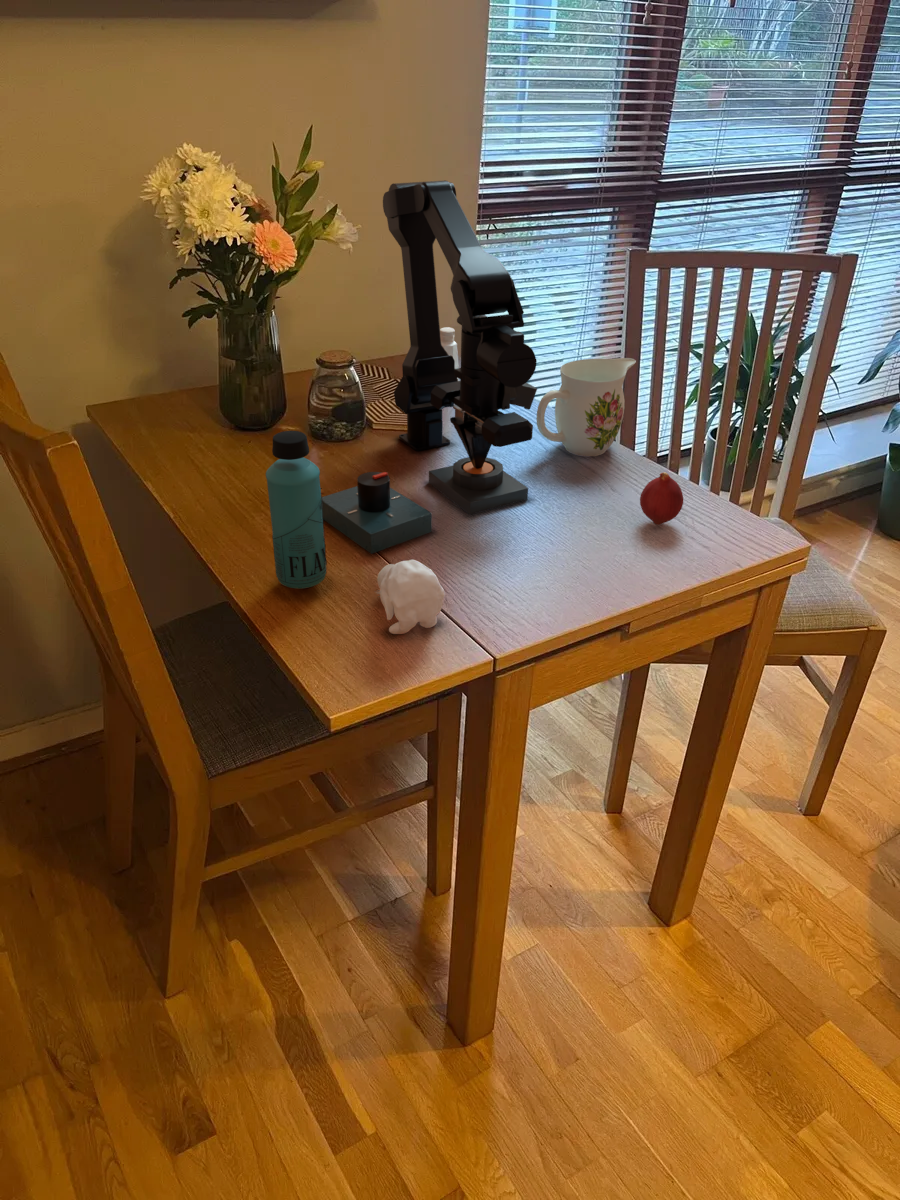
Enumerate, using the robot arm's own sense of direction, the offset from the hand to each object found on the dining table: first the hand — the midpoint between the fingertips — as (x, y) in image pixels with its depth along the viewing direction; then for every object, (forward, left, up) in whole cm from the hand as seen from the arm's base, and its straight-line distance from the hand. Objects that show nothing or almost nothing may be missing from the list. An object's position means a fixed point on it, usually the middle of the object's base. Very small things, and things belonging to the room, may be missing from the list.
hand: (477, 467), depth 135 cm
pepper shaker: (-40, +18, +2) cm, 44 cm away
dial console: (+2, -18, -4) cm, 19 cm away
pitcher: (-5, +23, -4) cm, 24 cm away
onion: (+21, +17, -4) cm, 27 cm away
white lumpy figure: (+24, -25, -4) cm, 35 cm away
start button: (0, 0, -2) cm, 2 cm away
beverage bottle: (+12, -33, -4) cm, 35 cm away
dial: (+2, -18, -1) cm, 18 cm away
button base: (0, 0, -4) cm, 4 cm away
